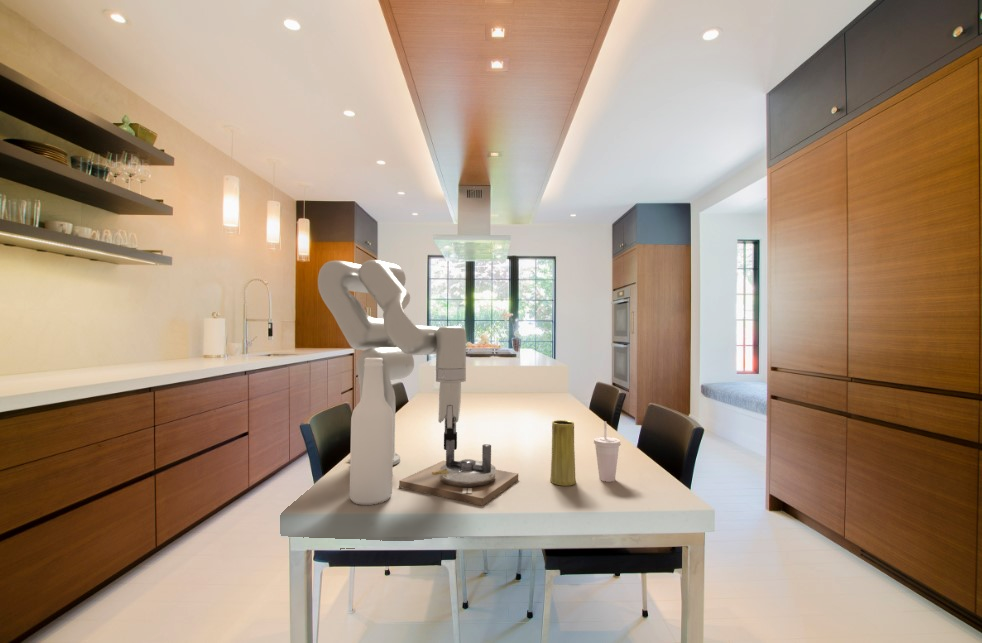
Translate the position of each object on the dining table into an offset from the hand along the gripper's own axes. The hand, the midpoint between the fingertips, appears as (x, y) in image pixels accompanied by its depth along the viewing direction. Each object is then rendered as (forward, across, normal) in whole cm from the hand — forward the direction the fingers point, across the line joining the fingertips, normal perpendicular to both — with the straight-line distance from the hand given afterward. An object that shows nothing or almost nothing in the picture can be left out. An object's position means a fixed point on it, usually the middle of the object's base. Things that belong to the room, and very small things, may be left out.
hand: (450, 448), depth 105 cm
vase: (+7, +5, +27) cm, 29 cm away
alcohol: (+7, +14, -16) cm, 23 cm away
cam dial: (+5, +7, +4) cm, 10 cm away
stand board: (+7, +5, +3) cm, 9 cm away
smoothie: (+7, +3, +39) cm, 40 cm away
